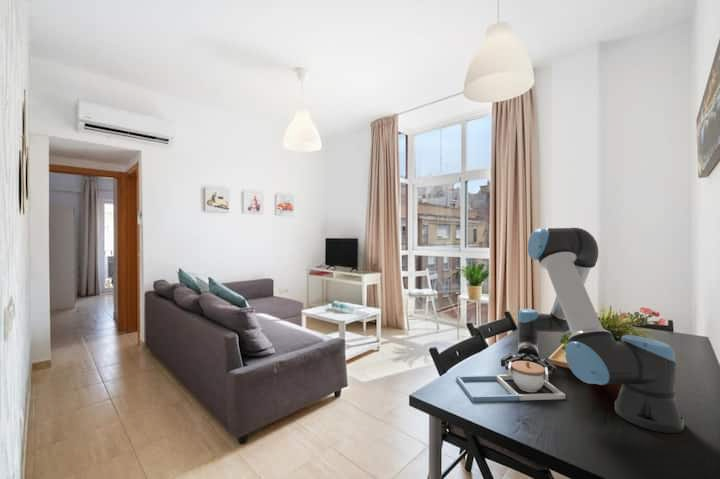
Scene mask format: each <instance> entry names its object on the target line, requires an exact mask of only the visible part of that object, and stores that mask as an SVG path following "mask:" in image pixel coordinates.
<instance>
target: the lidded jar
mask: <svg viewBox="0 0 720 479" xmlns="http://www.w3.org/2000/svg"><path fill="white" fill-rule="evenodd" d="M511 374H512V377H513V382H514V384H516V385H515V386H517V387H518V389H519V390H521V391H523V392H526V393H538V391H539V390H541V388H542V387H543V386H544V385H543V384H544V380H545V368H544V367H543V366H541V365H539V364H537V363H533V362H529V361H515V362H512V363H511Z"/></svg>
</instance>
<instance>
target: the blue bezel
mask: <svg viewBox="0 0 720 479" xmlns="http://www.w3.org/2000/svg"><path fill="white" fill-rule="evenodd" d="M497 375H498V374H477V375H456V376H455V381H456V382H457V383H458V385H459V386H460V387H461V389H462V390H463V391H464V393H466V395H467V397H468V398H469V399H470V401H471V402H472V403H478V402H479V403H481V402H506V401H508V402H509V401H510V402H511V401H512V402H513V401H519V400H518V396H519V395H518V394H519V393H518V394H513V395H511V394H487V395H481V394H480V395H475V394H474V393H473V392H472V391H471V390H470V388H469V387H468V385H466V383H465V382H472V381H473V382H474V381H475V382H476V381H477V382H478V381H479V382H480V381H497V377H496V376H497Z"/></svg>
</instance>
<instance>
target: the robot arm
mask: <svg viewBox="0 0 720 479" xmlns="http://www.w3.org/2000/svg"><path fill="white" fill-rule="evenodd" d="M527 252H528V256H529V257H530V259H532V260H534V261H538V262H539V265H540V267H541V268H542V269H543V270H546V271H547V273H548V277H549V279H550V281H551V284H552V286H553V289H554V292H555V294H556V296H555V299H554V302H553V305H552V308H551V311H550V314H548V313H547V314H545V313H544V314H542V313H541V314H540V313H539V312H538V311H537V310H536V309H530V308H522V309H519V311H518V314H517V315H518V316H517V324H518V325H517V326H518V336H517V337H518V340H517V341H518V344H517V345H518V346H517V347H518V348H517V353H516V355H515V354H513V353H512V352H508V354H507V355H505V356H503V357H502V358H500V366H501V367H502V368H503V367H505V370H506V371H508V372H507V373H508V374H507V375H508V376H511V374H512V372H511V363H512V362H515V361H529V362H533V363H537V364H539V365H541V366H543V367H544V368H545V380H546V382H547V383H548V382H549V378H552V376H557V375H558V368H557V367H556V366H555V365H554V364H553V362H551V361H550V360H549V358H548V357H544V358H543V359H541V357H539V333H561V334H565V333H570V335H569V337H568V338H567V340H568V341H567V342H568V343H567V344H566V346H565V348H564V352H565V354H564V357H565V360H566V363H567V366H568V367H569V369H570V371H571V372H572V373H573V375H574V376H575V377H576V378H577V379H579V380H580V381H582V382H584V383H586V384H591V385H592V384H593V385H595V384H596V385H600V386H604V385H621V388H620V390H619V393H618V394H617V398H616V399H615V401H614V411H615V413H616V414H617V415H618V416H619V417H620V418H622V419H623V420H625V421H626V422H628V423H631V424H633V425H635V426H638V427H640V428H644V429H647V430H650V431H655V432H660V433H666V434H667V433H668V434H677V433H681V432H683V431H684V429H685V420H684V416H683V415H682V414H681V411H680V407H679V405H678V403H677V400H676V363H677V360H676V357H675V350H674V348H673V347H672V346H671V345H669V344H668V343H666V342H662V341H661V340H660V341H659V340H656V339H652V338H649V337H644V336H638V335H633V334H624V335H622V337H621V338H620V341H616V340H615V338H614V335H613V333H612V332H611V331H610V330H607V329H605V328H603V325H602V323H601V321H600V319H599V316H598V314H597V312H596V310H595V308H594V307H595V306H594V305H593V303H592V301H591V298H590V296H589V294H588V291H587V290H586V287H585V283H586V281H587V279H588V276H589V274H590V271H591V269H593V268H595V267H596V264H597V262H598V258H599V247H598V243H597V240H596V239H595V237H594V236H593V235H592V234H591V233H590V232H589V231H587V230H586V229H584V228H579V227H561V228H560V227H556V228H555V227H554V228H553V227H551V228H549V227H543V228H542V227H541V228H536V229H535V230H533V231H532V232H531V233H530V236H529V239H528V243H527ZM569 331H570V332H569Z"/></svg>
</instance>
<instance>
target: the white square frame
mask: <svg viewBox="0 0 720 479" xmlns="http://www.w3.org/2000/svg"><path fill="white" fill-rule="evenodd" d="M496 375H497V376H496V377H497V380H496V381H497V382H498V383H499V384H500V385H501V386H502V387H503V388H504V389H505V390H506V391H507V392H508V393H509V395H513V394H518V395H519V396H518V400H517V401H538V400H539V401H541V400H542V401H544V400H566V394H565V393H564V392H562V391H561V390H560V389H559V388H557V387H556V386H554V384H552V383H550V382H549V381H548V383H547V382H546V380H544V384H543V386H545V387H546V388H547V389H548V390H549V391H551V392H552V393H550V392H549V393H521V394H520V393H518V392H517V391H516V390H515V389H514V388H513V387H512V386H511V385H510V384H508V383H507V382H506V381H509V380H511V381H512V380H513V377H512V373H511V376H508V374H496ZM513 381H514V380H513Z"/></svg>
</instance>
